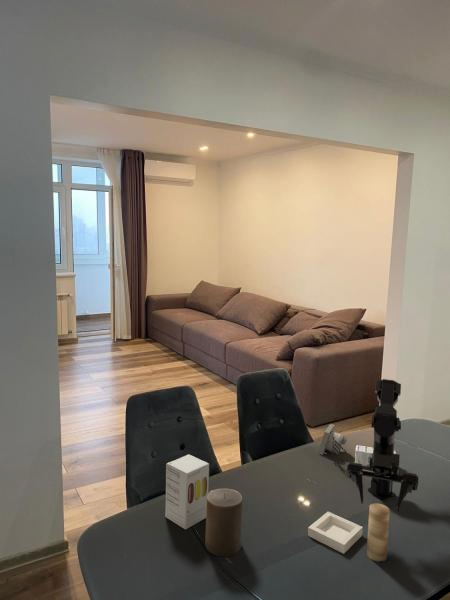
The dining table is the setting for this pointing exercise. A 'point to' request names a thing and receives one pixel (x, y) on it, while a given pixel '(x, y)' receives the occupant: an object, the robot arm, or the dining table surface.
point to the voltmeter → (332, 443)
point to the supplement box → (186, 490)
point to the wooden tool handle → (378, 532)
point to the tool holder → (335, 532)
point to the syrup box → (364, 455)
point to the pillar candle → (223, 522)
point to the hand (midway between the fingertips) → (379, 507)
